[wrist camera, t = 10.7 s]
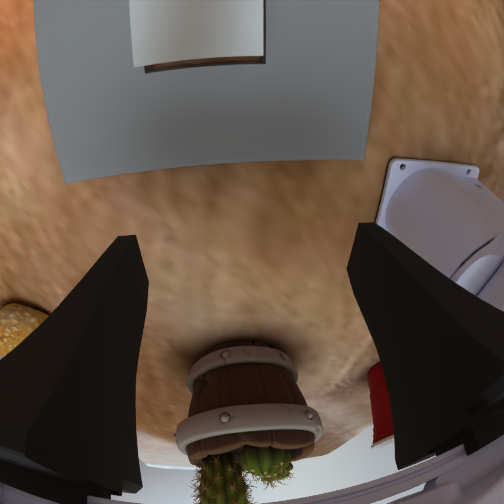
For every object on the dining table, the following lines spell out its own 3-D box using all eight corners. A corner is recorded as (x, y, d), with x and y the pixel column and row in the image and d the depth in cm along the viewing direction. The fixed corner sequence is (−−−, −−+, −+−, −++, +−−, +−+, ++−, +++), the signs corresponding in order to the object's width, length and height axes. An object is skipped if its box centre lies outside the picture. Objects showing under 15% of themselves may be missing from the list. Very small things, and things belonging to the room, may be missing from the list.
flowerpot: (302, 310, 29) (354, 523, 14) (304, 379, 39) (334, 518, 24) (155, 334, 29) (151, 539, 14) (198, 395, 39) (207, 533, 24)
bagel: (19, 349, 30) (10, 379, 26) (-14, 289, 23) (-31, 323, 20) (84, 360, 32) (78, 394, 28) (60, 299, 25) (46, 339, 22)
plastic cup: (342, 389, 44) (361, 458, 34) (364, 354, 37) (392, 437, 28) (400, 377, 45) (422, 438, 36) (428, 340, 38) (459, 411, 29)
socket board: (360, -88, 8) (375, -97, 6) (351, 148, 19) (363, 160, 17) (52, -66, 6) (37, -72, 5) (76, 169, 17) (65, 183, 16)
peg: (241, -16, 12) (262, -55, 6) (242, 47, 14) (263, 55, 8) (165, -11, 11) (128, -43, 5) (168, 53, 14) (133, 67, 8)
